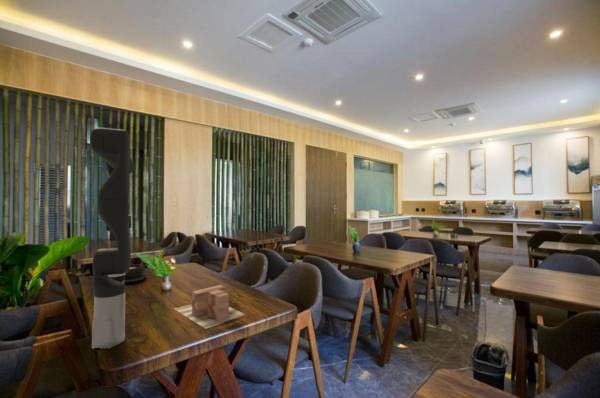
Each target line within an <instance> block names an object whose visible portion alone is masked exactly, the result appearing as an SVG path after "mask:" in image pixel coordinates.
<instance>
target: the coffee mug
mask: <svg viewBox="0 0 600 398" xmlns="http://www.w3.org/2000/svg"><path fill="white" fill-rule="evenodd" d="M108 276H109V277H110V278H111V279H113V280H116V281H119V282H122V283H124V284H125V282H124V280H125V273H124V274H113V275H108Z"/></svg>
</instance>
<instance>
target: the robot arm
mask: <svg viewBox="0 0 600 398" xmlns="http://www.w3.org/2000/svg"><path fill="white" fill-rule="evenodd" d="M89 138H90V139H89V140H90V148H91V150H92V151H93V153H94V154H96V155H98V156H100V157H101V158H102V159H104V160H105V161H106V162H105V168H106V171H107V173H108V178H107V179H106V180H105V181H104V183H103V184H102V185H101V187H100V188H99V190H98V193H97V212H98V215H99V216H100V218H101V220H102V221H103V222H104V224H105V225H106V226H105V227H106V228H105V231H108V232H109V241H111V242H112V241H113V242H115V241H116V245H117V246H116V247H112V248H110V247H108V248H99V249H96V250H95V252H94V255H93V258H92V278H93V279H92V280H93V281H92V282H93V284H92V285H93V299H94V301H93V320H92V322H91V349H94V350H96V349H95V348H100V349H111V348H113V347H115V346H118V345H120V344H122V343H123V342H124V341H125V338H126V283H125V282H124V283H122V282H119V281H116V280H113V279H111V278H110V277H109V276H108V275H113V274H124V273H127V272H128V271H129V269H130V265H131V262H132V257H131V243H130V229H131V228H132V215H130V209H131V208H130V198H131V197H130V181H129V175H130V174H132V173H133V172H134V171H135V163H134V161H133V160H132V158H131V157H130V146H131V145H130V142H131V141H130V135H129V133H128V131H127V130H126V129H119V128H109V127H95V128H93V129H92V130H91V132H90V135H89ZM100 349H99V350H100Z"/></svg>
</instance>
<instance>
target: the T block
mask: <svg viewBox="0 0 600 398" xmlns="http://www.w3.org/2000/svg"><path fill="white" fill-rule="evenodd" d="M229 301H230V293H227V286H224V285H223V284H218V285H214V286H210V287H207V288H202V289H201V288H200V289H197V290H193V291H192V292H191V304H192V315H193V316H195V317H197V318H199V317H202V316H205V315H208V316H210V317H212V318H214V319H216V320H217V321H220V320H222V319H225V318H228V317H229V307H230V302H229Z"/></svg>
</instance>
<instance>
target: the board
mask: <svg viewBox="0 0 600 398" xmlns="http://www.w3.org/2000/svg"><path fill="white" fill-rule="evenodd" d="M174 310H175V311H176V312H178V313H180V314H181V315H182V316H184V317H186V318H188V319H189V320H191V321H192V322H194V323H195V324H198V326H200V327H202V328H204V329H205V330H206V329H210V328H212V327H214V326H217V325H221V324H224V323H226V322H229V321H232V320H234V319H238V318H240V317H243V316H245V315H246V314H245V313H243V312H241V311H240V310H237V309H235V308H232V307H231V306H229V317H228V318H225V319H222V320H220V321H217V320H216V319H214V318H212V317H210V316H208V315H205V316H202V317H199V318H197V317H195V316H193V315H192V303H191V304H187V305H184V306H183V305H182V306H179V307H176V308H174Z"/></svg>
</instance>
